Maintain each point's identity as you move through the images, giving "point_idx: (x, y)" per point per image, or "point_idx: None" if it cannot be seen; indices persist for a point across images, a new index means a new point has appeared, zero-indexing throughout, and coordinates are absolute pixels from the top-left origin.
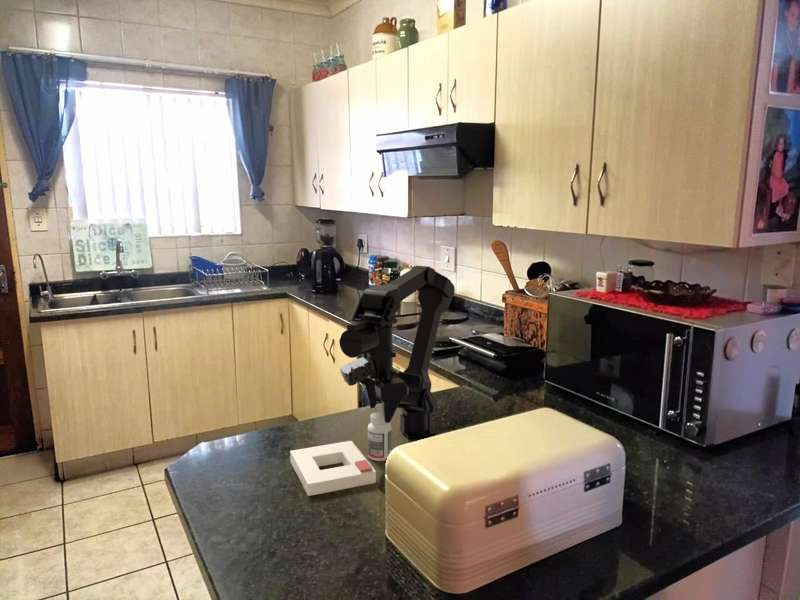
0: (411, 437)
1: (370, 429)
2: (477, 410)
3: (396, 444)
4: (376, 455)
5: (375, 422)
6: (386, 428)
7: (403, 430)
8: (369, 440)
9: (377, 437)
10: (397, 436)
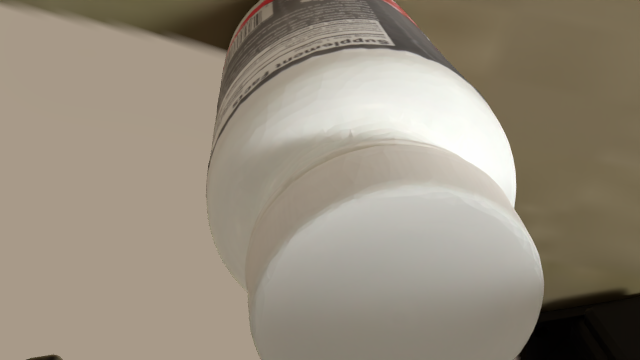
0: None
1: (292, 84)
2: None
3: None
4: (231, 45)
5: (278, 202)
6: (240, 279)
7: (610, 317)
8: (299, 25)
9: (218, 126)
10: (602, 255)
